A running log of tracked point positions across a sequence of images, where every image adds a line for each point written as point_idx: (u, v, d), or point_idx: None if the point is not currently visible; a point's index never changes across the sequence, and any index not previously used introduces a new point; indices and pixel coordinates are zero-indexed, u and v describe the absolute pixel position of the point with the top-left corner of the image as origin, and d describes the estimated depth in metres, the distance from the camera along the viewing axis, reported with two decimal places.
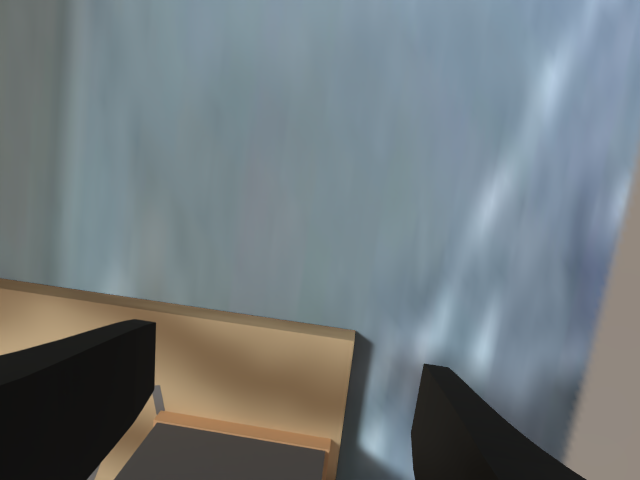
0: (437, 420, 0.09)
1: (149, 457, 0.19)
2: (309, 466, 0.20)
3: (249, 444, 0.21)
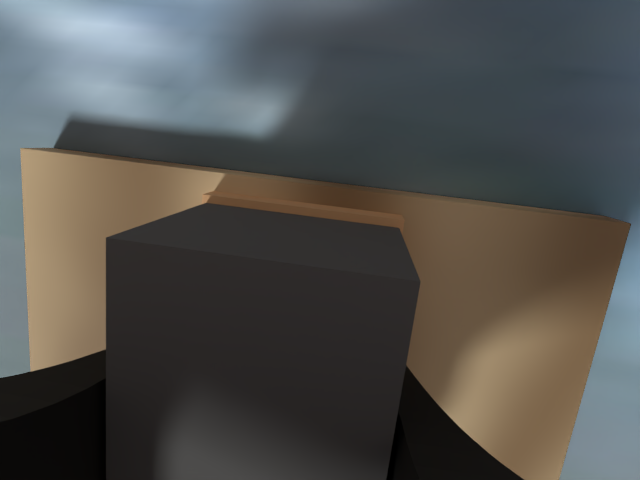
0: None
1: None
2: None
3: None
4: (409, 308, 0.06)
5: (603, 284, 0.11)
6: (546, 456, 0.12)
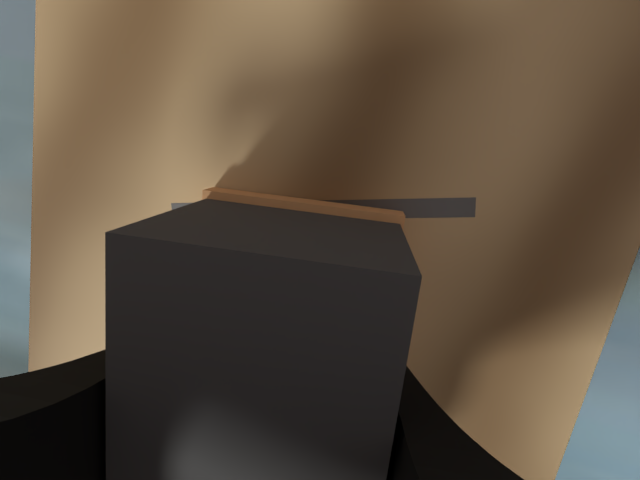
0: None
1: None
2: None
3: None
4: (410, 303, 0.06)
5: None
6: None
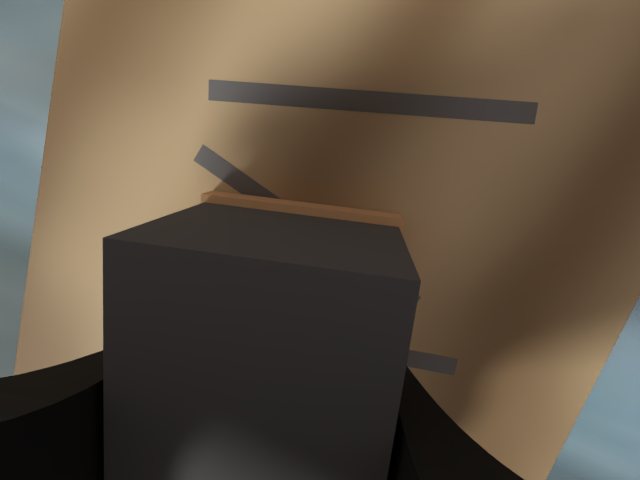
0: None
1: None
2: None
3: None
4: (409, 308, 0.06)
5: None
6: None
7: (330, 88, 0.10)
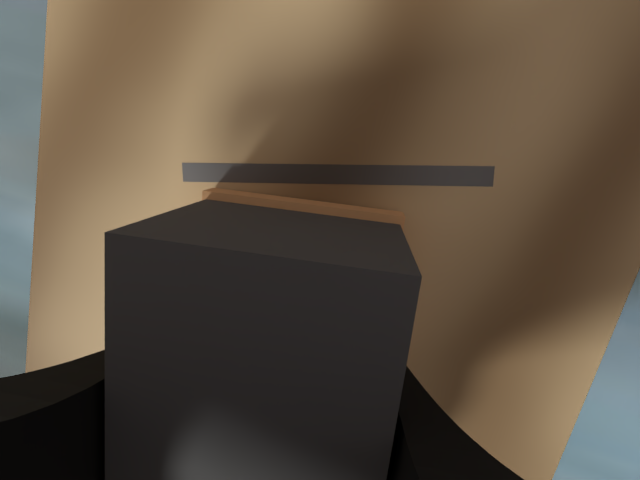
0: None
1: None
2: None
3: None
4: (410, 303, 0.06)
5: None
6: None
7: (297, 164, 0.11)
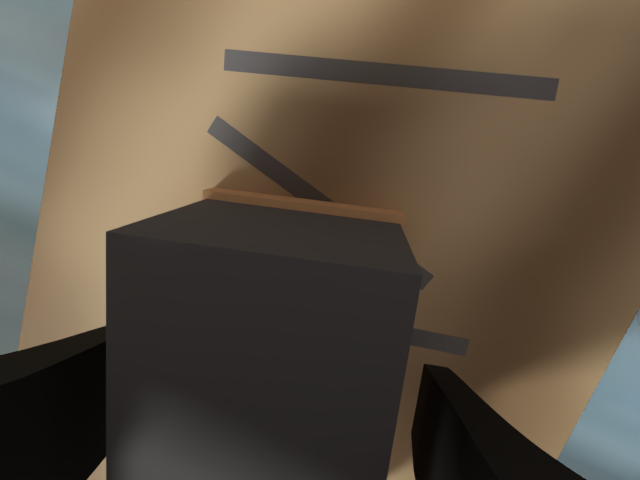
0: (436, 420, 0.09)
1: None
2: None
3: None
4: (410, 302, 0.06)
5: None
6: None
7: (348, 60, 0.10)
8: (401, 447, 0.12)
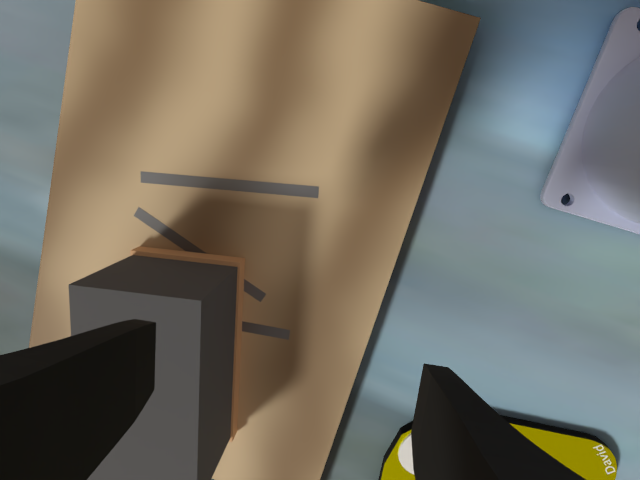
0: (436, 420, 0.09)
1: None
2: None
3: None
4: (198, 312, 0.15)
5: (459, 59, 0.17)
6: (410, 185, 0.18)
7: (207, 177, 0.19)
8: (259, 396, 0.21)
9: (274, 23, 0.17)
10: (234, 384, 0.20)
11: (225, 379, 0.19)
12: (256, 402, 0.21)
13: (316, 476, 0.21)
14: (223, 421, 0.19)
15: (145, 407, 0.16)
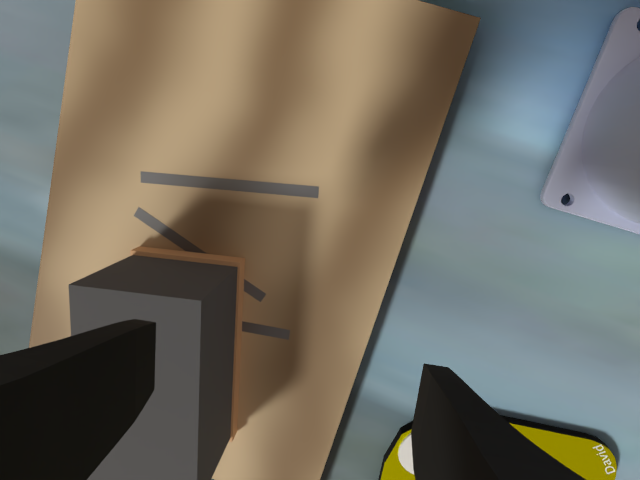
0: (436, 420, 0.09)
1: None
2: None
3: None
4: (198, 312, 0.15)
5: (459, 59, 0.17)
6: (410, 185, 0.18)
7: (207, 177, 0.19)
8: (259, 396, 0.21)
9: (274, 23, 0.17)
10: (234, 384, 0.20)
11: (225, 379, 0.19)
12: (256, 402, 0.21)
13: (316, 476, 0.21)
14: (223, 421, 0.19)
15: (145, 407, 0.16)
